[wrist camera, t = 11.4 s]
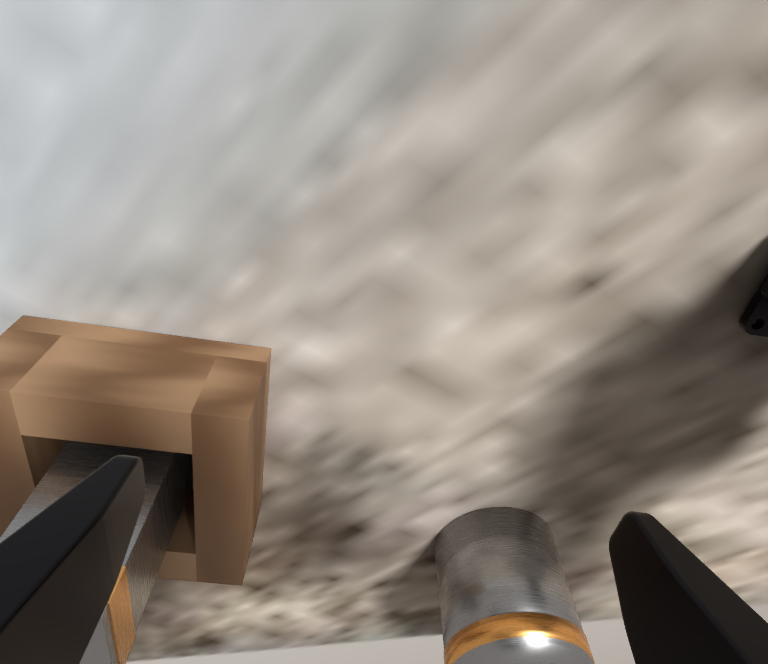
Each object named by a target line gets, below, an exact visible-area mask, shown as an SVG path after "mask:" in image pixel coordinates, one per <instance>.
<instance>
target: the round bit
mask: <svg viewBox="0 0 768 664" xmlns="http://www.w3.org/2000/svg"><path fill="white" fill-rule="evenodd" d="M434 550H435V561H436V571H437V581H438V591H439V601H440V612H441V622H442V632H443V641H444V663H445V664H594V660H593V657H592V654H591V651H590V648H589V645H588V641H587V638H586V636H585V634H584V632H583V629H582V626H581V623H580V620H579V617H578V614H577V611H576V607H575V604H574V601H573V598H572V595H571V592H570V589H569V586H568V582H567V579H566V576H565V573H564V570H563V567H562V564H561V560H560V557H559V554H558V551H557V548H556V545H555V542H554V539H553V535H552V532H551V530H550V528H549V526H548V525H547V524H546V523H545V522H544V521H543V520H542V519H541V518H540V517H538V516H536V515H535V514H533V513H530V512H528V511H525V510H521V509H517V508H511V507H491V508H484V509H479V510H475V511H471V512H469V513H466V514H464V515H461V516H459V517H458V518H456V519H454V520H453V521H451V522H450V523H449V524H447V525H446V526H445V527H444V528H443V529H442V530H441V532H440V533H439V535H438V537H437V539H436V541H435V548H434Z"/></svg>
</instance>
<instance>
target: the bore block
mask: <svg viewBox="0 0 768 664" xmlns="http://www.w3.org/2000/svg"><path fill="white" fill-rule="evenodd" d="M270 357H271V348H264V347H256V346H249V345H241V344H234V343H226V342H219V341H211V340H204V339H196V338H189V337H181V336H174V335H166V334H159V333H151V332H144V331H136V330H129V329H121V328H113V327H106V326H98V325H91V324H83V323H76V322H68V321H61V320H53V319H46V318H38V317H31V316H22V317H21V318H20V319H18V320H17V321H16V322H15V323H14V324H13V325H12V326H11V327H10V328H8V329H7V330H6V331H5V332H4V333H3V334H2V335H1V336H0V538H1V536H2V535H3V533H4V532H5V531H6V529H7V528H8V526H9V525H10V523H11V522H12V521H13V519H14V518H15V516H16V515H17V513H18V512H19V511H20V509H21V508H22V506H23V505H24V503H25V502H26V501H27V499H28V498H29V496H30V495H31V493H32V492H33V491H34V489H35V488H36V486H37V485H38V483H39V482H40V481H41V479H42V478H43V476H44V475H45V473H46V472H47V471H48V469H49V468H50V466H51V465H52V463H53V462H54V461H55V459H56V458H57V456H58V455H59V453H60V452H61V451H62V449H63V448H64V446H65V445H66V443H67V442H68V441H69V440H70V441H79V442H87V443H96V444H105V445H114V446H123V447H132V448H141V449H150V450H159V451H167V452H176V453H185V454H192V461H193V484H192V486H191V489H190V491H189V494H188V497H187V499H186V502H185V504H184V507H183V510H182V512H181V515H180V517H179V520H178V523H177V525H176V528H175V530H174V533H173V536H172V538H171V541H170V543H169V546H168V549H167V551H166V554H165V556H164V559H163V562H162V564H161V567H160V569H159V572H158V575H157V577H156V578H164V579H175V580H186V581H197V582H208V583H219V584H230V585H241V586H242V583H243V579H244V575H245V570H246V566H247V562H248V558H249V553H250V549H251V545H252V540H253V536H254V532H255V528H256V523H257V519H258V515H259V511H260V506H261V495H262V480H263V465H264V449H265V434H266V419H267V403H268V388H269V373H270Z"/></svg>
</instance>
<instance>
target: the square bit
mask: <svg viewBox="0 0 768 664" xmlns="http://www.w3.org/2000/svg"><path fill="white" fill-rule="evenodd" d="M117 455H128V456H137V457H140V458H141V459H142V461H143V468H144V478H145V487H146V491H145V498H144V502H143V505H142V508H141V511H140V514H139V517H138V520H137V523H136V526H135V529H134V532H133V535H132V538H131V541H130V543H129V546H128V549H127V552H126V555H125V558H124V561H123V564H122V567H121V570H120V573H119V576H118V579H117V582H116V584H115V587H114V589H113V592H112V594H111V596H110V598H109V601H108V603H107V605H106V607H105V609H104V612H103V614H102V616H101V618H100V620H99V622H98V625H97V627H96V629H95V631H94V633H93V635H92V638H91V640H90V642H89V644H88V646H87V648H86V650H85V653H84V655H83V657H82V659H81V661H80V663H79V664H125V663H126V660H127V658H128V655H129V653H130V650H131V647H132V645H133V642H134V639H135V637H136V633H135V632H136V629H137V627H138V624H139V621H140V619H141V616H142V614H143V611H144V608H145V606H146V603H147V601H148V598H149V595H150V593H151V590H152V588H153V585H154V582H155V580H156V577H157V575H158V572H159V569H160V567H161V564H162V562H163V559H164V556H165V554H166V551H167V549H168V546H169V543H170V541H171V538H172V536H173V533H174V530H175V528H176V525H177V523H178V520H179V517H180V515H181V512H182V510H183V507H184V504H185V502H186V499H187V497H188V494H189V491H190V489H191V486H192V484H193V461H192V454H185V453H176V452H167V451H159V450H150V449H141V448H132V447H123V446H114V445H105V444H96V443H87V442H79V441H70V440H69V441H68V442H67V443H66V445H65V446H64V448H63V449H62V451H61V452H60V453H59V455H58V456H57V458H56V459H55V461H54V462H53V463H52V465H51V466H50V468H49V469H48V471H47V472H46V473H45V475H44V476H43V478H42V479H41V481H40V482H39V483H38V485H37V486H36V488H35V489H34V491H33V492H32V493H31V495H30V496H29V498H28V499H27V501H26V502H25V503H24V505H23V506H22V508H21V509H20V511H19V512H18V513H17V515H16V516H15V518H14V519H13V521H12V522H11V523H10V525H9V526H8V528H7V529H6V531H5V532H4V533H3V535H2V536H1V538H0V543H1V542H2V541H3V540H5V539H6V538H7V537H8V536H10V535H11V534H12V533H14V532H15V531H16V530H18V529H19V528H20V527H22V526H23V525H24V524H26V523H27V522H28V521H30V520H31V519H32V518H34V517H35V516H36V515H37V514H39V513H40V512H41V511H43V510H44V509H45V508H47V507H48V506H49V505H51V504H52V503H53V502H55V501H56V500H57V499H59V498H60V497H61V496H62V495H64V494H65V493H66V492H68V491H69V490H70V489H72V488H73V487H74V486H76V485H77V484H78V483H80V482H81V481H82V480H84V479H85V478H86V477H88V476H89V475H90V474H91V473H93V472H94V471H95V470H97V469H98V468H99V467H101V466H102V465H103V464H105V463H106V462H107V461H109V460H110V459H111V458H113V457H114V456H117Z"/></svg>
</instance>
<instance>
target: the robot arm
mask: <svg viewBox="0 0 768 664" xmlns="http://www.w3.org/2000/svg"><path fill="white" fill-rule="evenodd" d="M757 319H758V321H757V322H756V323H754V324H752V323H753V322H754V321H755V320H757ZM739 323H740V326H741V327H742V328H743V329H744V330H745V331H746V332H747V333H749V334H751V335H758V336H764V337H768V274H767V276H766V277H765V279H764V281H763V282H762V284H761V286H760V287H759V289H758V290H757V292H756V294H755V295H754V297H753V299H752V300H751V302H750V303H749V305H748V307H747V308H746V310H745V312H744V313H743V315H742V316H741V319H740V321H739ZM145 491H146V487H145V478H144V468H143V461H142V459H141V458H140V457H137V456H128V455H117V456H114V457H113V458H111V459H110V460H109V461H107V462H106V463H105V464H103V465H102V466H101V467H99V468H98V469H97V470H95V471H94V472H93V473H91V474H90V475H89V476H88V477H86V478H85V479H84V480H82V481H81V482H80V483H78V484H77V485H76V486H74V487H73V488H72V489H70V490H69V491H68V492H66V493H65V494H64V495H62V496H61V497H60V498H59V499H57V500H56V501H55V502H53V503H52V504H51V505H49V506H48V507H47V508H45V509H44V510H43V511H41V512H40V513H39V514H37V515H36V516H35V517H34V518H32V519H31V520H30V521H28V522H27V523H26V524H24V525H23V526H22V527H20V528H19V529H18V530H16V531H15V532H14V533H12V534H11V535H10V536H8V537H7V538H6V539H5V540H3V541H2V542H1V543H0V664H79V663H80V661H81V659H82V657H83V655H84V653H85V650H86V648H87V646H88V644H89V642H90V640H91V638H92V635H93V633H94V631H95V629H96V627H97V625H98V622H99V620H100V618H101V616H102V614H103V612H104V609H105V607H106V605H107V603H108V601H109V598H110V596H111V594H112V592H113V589H114V587H115V584H116V582H117V579H118V576H119V573H120V570H121V567H122V564H123V561H124V558H125V555H126V552H127V549H128V546H129V543H130V541H131V538H132V535H133V532H134V529H135V526H136V523H137V520H138V517H139V514H140V511H141V508H142V505H143V502H144V498H145ZM609 552H610V557H611V562H612V567H613V572H614V577H615V581H616V586H617V591H618V596H619V601H620V606H621V611H622V616H623V620H624V625H625V629H626V633H627V636H628V640H629V643H630V647H631V650H632V653H633V657H634V660H635V663H636V664H768V623H767V622H766V621H765V620H764V619H763V618H762V617H761V616H759V615H758V614H757V613H756V612H755V611H754V610H753V609H752V608H751V607H750V606H749V605H748V604H747V603H745V602H744V601H743V600H742V599H741V598H740V597H739V596H738V595H737V594H736V593H735V592H734V591H733V590H732V589H730V588H729V587H728V586H727V585H726V584H725V583H724V582H723V581H722V580H721V579H720V578H719V577H718V576H716V575H715V574H714V573H713V572H712V571H711V570H710V569H709V568H708V567H707V566H706V565H705V564H704V563H703V562H701V561H700V560H699V559H698V558H697V557H696V556H695V555H694V554H693V553H692V552H691V551H690V550H689V549H688V548H686V547H685V546H684V545H683V544H682V543H681V542H680V541H679V540H678V539H677V538H676V537H675V536H674V535H672V534H671V533H670V532H669V531H668V530H667V529H666V528H665V527H664V526H663V525H662V524H661V523H660V522H659V521H657V520H656V519H655V518H654V517H653V516H652V515H650V514H647V513H641V512H632V511H631V512H627V513H626V514H625V515H624V516H623V518H622V519H621V521H620V522H619V524H618V526H617V527H616V529H615V530H614V532H613V534H612V535H611V537H610V541H609Z"/></svg>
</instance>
